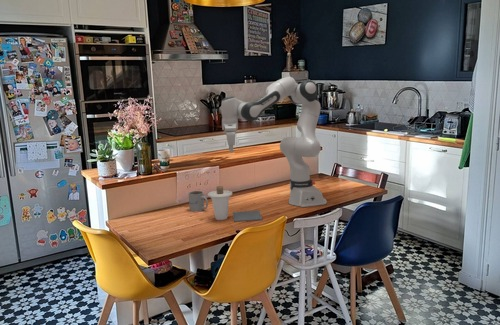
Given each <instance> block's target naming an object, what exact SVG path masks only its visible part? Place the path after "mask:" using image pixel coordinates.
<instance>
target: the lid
mask: <svg viewBox="0 0 500 325" xmlns="http://www.w3.org/2000/svg"><path fill="white" fill-rule="evenodd" d="M207 196H208V198H210V199H211V198H227V197H229V198H230V197H232V196H233V191H231V190H228V189H226V190H225V189H224V186H223V185H219V186H216V189H215V190H213V191H209V192H208V193H207Z"/></svg>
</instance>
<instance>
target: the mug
mask: <svg viewBox="0 0 500 325" xmlns="http://www.w3.org/2000/svg"><path fill="white" fill-rule="evenodd" d="M188 202H189V203H188V204H189V205H188V206H189V211H190V212H193V213H194V212H195V213H196V212H197V213H198V212H202V211H204V210H205V209H208V206H209V200H208V198H207V197H206V196H205V194H204V191H202V190H193V191H190V192H188Z"/></svg>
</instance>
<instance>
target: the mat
mask: <svg viewBox="0 0 500 325" xmlns="http://www.w3.org/2000/svg"><path fill="white" fill-rule="evenodd" d="M232 217H233V222H234V223H235V222H236V223H237V222H238V223H239V222H251V221H263V216H262V215H261V211H260V210H245V211H243V210H242V211H232Z"/></svg>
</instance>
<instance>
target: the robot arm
mask: <svg viewBox="0 0 500 325" xmlns="http://www.w3.org/2000/svg"><path fill="white" fill-rule="evenodd" d="M286 98H288V99H289V101H290V102H291V103H292V104H293V105H297V106H298V105H299V106H300V105H301V110H300V113H299V116H298V120H297V122H296V123H297V124H296V129H297V130H298V131H299V132H300V133H301V134H300V137H296V136H290V137H289V136H288V137H283V138H282V139H281V141H280V143H279V150H280V152H281V153H282V154H283V155H284V156H285V158H286V159H287V160H286V161H287V162H288V164H289V170H290V180H289V189H290V192H289V198H288V204H290V205H292V206H296V207H302V208H306V207H315V206H323V205H327V203H328V201H327V199H326V198H324V197H323V193H322V191H321V190H320V189H319V188H317V187H316V186H314V185H315V184H316V181H315V180H312V179H311V178H310V170H311V169H310V166H309V164H308V163H307V162H305V160H304V159H303V158H314V157H315V158H316V157H318V155H319V154H320V152H321V144H320V141H318V139H317V137H316V128H317V124H318V121H319V118H320V115H321V114H320V112H321V103H320V101H319V100H317V99H318V86H317V84H316V82H315V81H314V80H303V81H302V82H300V83H298V82H297V81H296V80H295V79H294V78H293V77H292V76H285V77H283V78H279V79H278V80H276V81H273V82H272V83H271V84H269V85H268V86H267V87H266V90H265V96H263V97H262V98H260V99H259V100H257V101H255V102H253V101H252V102H248V101H247V102H246V101H244V100H243V101H242V100H240V99H239V98H237V97H236V96H233V95H232V96H228V97H224V98H223V99H222V100H221V105H220V106H221V109H220V110H221V112H220V113H221V117H222V118H221V128H222V129H221V130H222V131H224V133H225V136H226V141H227V145H228V150H229V153H231V154H232V153H234V146H235V144H236V135H237V134H236V133H237V131H238V129H239V120H244V121H248V122H254V121H257V120H258V119H259V117H260V116H261V115H262V113H264V111H266V110H268V109H270V108H271V107H273V106H274V105H275V104H277V103H278V102H281V101H282V100H285V99H286Z"/></svg>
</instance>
